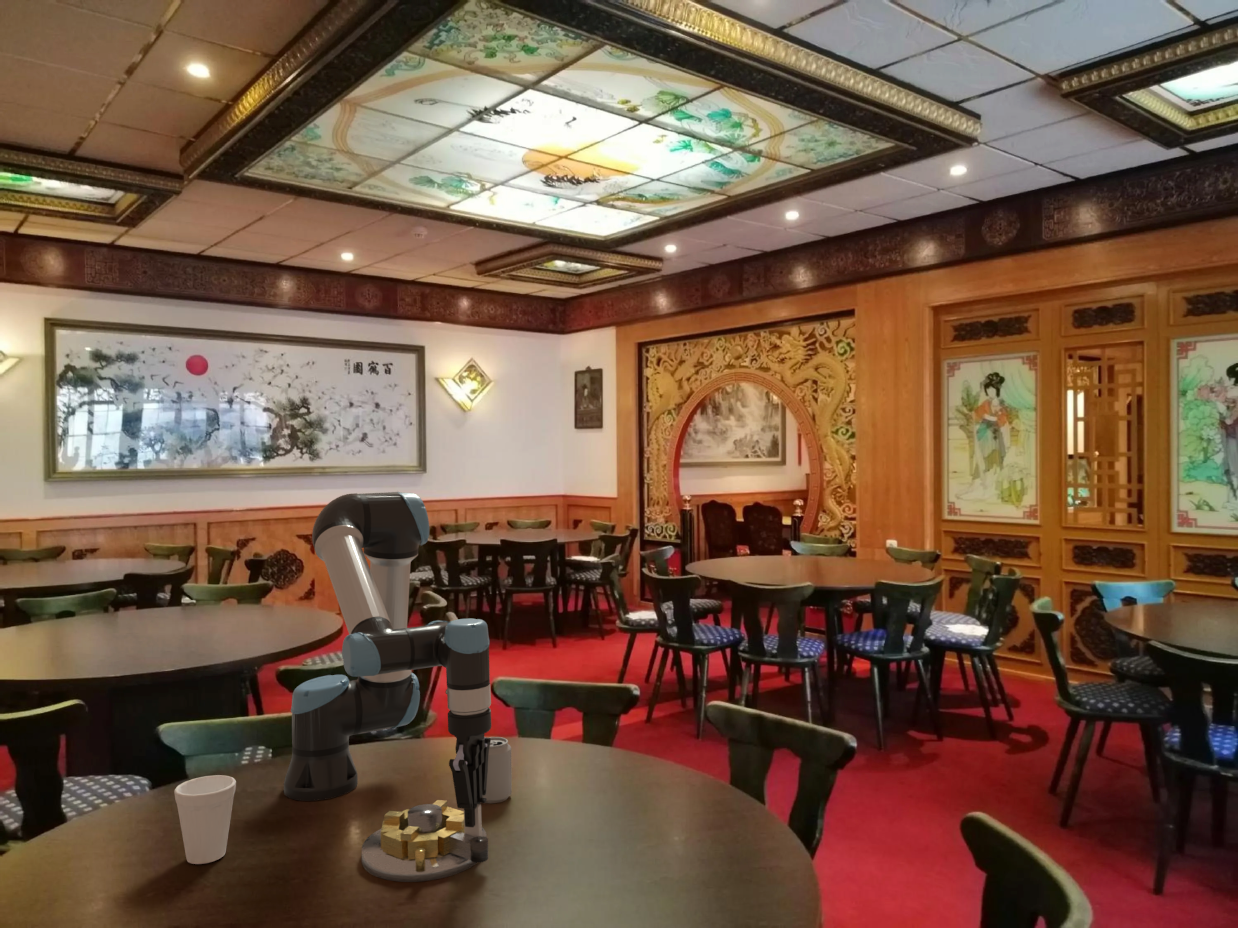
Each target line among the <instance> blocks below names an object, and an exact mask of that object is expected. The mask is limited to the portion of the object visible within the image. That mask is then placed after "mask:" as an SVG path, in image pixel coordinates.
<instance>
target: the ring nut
mask: <svg viewBox="0 0 1238 928" xmlns="http://www.w3.org/2000/svg"><path fill="white" fill-rule="evenodd" d="M432 804H434V805H438V806H440V807H441V808H442V829H441V830H439V831H437V832H435V833H422V834H419V827H413V826H408V811H409V808H407V809H403V810H402V811H398V810H397V811H396V810H388V812H386V813H385V814H384V816H383V821H382V824H381V825H382V826H381V828H382V829H381V828H380V829H381V849H383V852H385V853H388V854H390V855H393V856H396V857H398V858H401V859H403V858H405V857H407V856H408V859H415V851H416V850H417V849H419V848H423V849H425V858H431V857H438V853H439V854H442V855H446V854H448V853H452V854H455V855H458V856H461V857H464V858H466V859H469V860H471V861H472V862H475V863H476V864H481V863H484V862H486V861H488V860H489V838H488V836H487V837H484V836H477V837H474V836H471V835H468V834H465V831H464V810H459V809H458V808H453V807H450V806H448V800H442V799H437V800H436V801H434V802H433V803H432Z"/></svg>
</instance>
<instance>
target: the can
mask: <svg viewBox="0 0 1238 928" xmlns="http://www.w3.org/2000/svg"><path fill="white" fill-rule="evenodd" d="M488 738H490V739H491V742H490V747H489V755H488V772H487V788H486V795H483V798H487V800H486V803H485V804H496V803H497V804H499V803H502V802H504V801H506V800H507V799H508V798H509V797H510V796H511V795H512V793H513V791H512V788H513V787H512V786H513V785H512V781H513V777H512V746H511V745H510V744H509V740H508V739H507V738H505V737H501V736H490V737H488Z"/></svg>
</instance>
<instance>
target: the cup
mask: <svg viewBox="0 0 1238 928" xmlns="http://www.w3.org/2000/svg"><path fill="white" fill-rule="evenodd" d="M236 789H237V781H236V779H235V778H234V777H232V776H229V775H223V774H222V775H220V774H217V775H216V774H215V775H205V776H200V777H196V778H192V779H190V780H186V781H183V782H182V783H180V784H178V785H177V786H176V788H175V789H174V790H173V792H174V799H175V803H176V806H177V811H178V812H177V813H178V818H179V824H180V830H181V834H182V835H181V836H182V840H183V847H184V852H185V857H186V858H185V859H186V861H187V863H189V864H193V865H194V864H195V865H202V864H209V863H212V862H215V861H217V860H219V859H222V857H224V856H225V854H226V851H227V847H228V846H227V845H228V838H229V830H230V824H231V818H232V812H233V811H232V810H233V803H234V798H235V793H236Z"/></svg>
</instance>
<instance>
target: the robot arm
mask: <svg viewBox="0 0 1238 928" xmlns="http://www.w3.org/2000/svg"><path fill="white" fill-rule="evenodd" d="M311 533H312V535H311V536H312V545H313V548H314V549H313V550H314V551H315V555H316V556H317V557H318V558H319V560H321V561H323V562H324V565H325V568H326V571H327V574H328V576H329V579H330V582H331V584H332V589H333V591H334V594H335V596H336V600H337V603H338V605H339V608H340V611H341V614H342V617H343V619H344V620H343V621H344V622H345V623H344V624H345V625H346V629H347V632H348V634H347V635H346V636H345V637H344V639H343V641H342V646H341V647H342V648H341V649H342V650H341V651H342V652H341V656H342V663H343V667H344V670H345V673H347V675H348V676H351V677H355V678H356V677H357V679H353V680H350V679H349V677H348V676H346V674H334V675H331V674H327V675H322V676H318V677H314V678H311V679H309V680H306V681H304V682H302V683H300V684H299V685H298V686H296V688H294V690H293V692H292V699H291V708H290V713H291V739H292V742H291V744H292V745H291V747H292V755H291V759H290V761H289V765H288V769H287V771H286V775H285V778H284V781H283V794H284V796H286V797H287V798H288V799H291V800H296V801H303V802H304V801H305V802H308V801H309V802H311V801H322V800H328V799H334V798H337V797H340V796H342V795H346V794H348V793H349V792H351V791H353V790H354V789H356V788H357V786H358V783H359V781H358V771H357V768H356V765H355V762H354V760H353V756H352V753H351V751H350V743H349V742H350V740H349V739H350V736H353V735H361V734H367V733H371V732H377V731H378V732H379V731H383V730H393V729H396V728H397V727H398V728H399V727H403V726H406V725H407V726H408V724H410V723H411V722H412V721H413V720H415V717H416V715H417V714H418V710H419V706H420V699H421V695H420V694H421V692H420V683H419V678H418V677H417V675H416V674H415V673H413V672H412V670H420V669H426V668H427V669H429V668H434V667H441V666H442V667H444V668H445V675H446V689H445V692H444V693H445V694H446V695H447V697H446V698H447V709H448V712H447V731H448V733H449V734H451V735H452V736H454V737H455V739H456V742H455V754H456V755H455V757H454V759H453V758H450V759H449V761H448V767H449V769H450V771H451V773H452V774H451V775H452V779H453V780H452V781H453V787H454V794H455V800H456V806H457V809H463V812H464V831H465V834H468V835H471V836H474V837H477V836H482V828H483V826H482V824H483V823H482V804H487V803H486V800H487V798H483V795H486V788H487V772H488V755H489V747H490V742H491V739H490V738H489V737H487V736H486V737H485V735H486V734H487V733H488V732H489V731H491V729H492V710H491V708H490V706H491V704H492V696H491V695H492V694H491V692H492V691H491V680H490V679H491V677H490V676H491V675H490V642H491V641H490V637H489V628H488V627H489V626H488V624H487V622H486V621H485V620H483V619H481V618H477V619H476V618H470V617H469V618H460V619H455V620H454V619H453V620H450V621H447V620H433V621H430V622H429V623H427V624H425V625H420V626H411V627H408V619H409V618H408V617H409V599H410V582H411V581H410V580H411V562H412V561H414V559H416V558H417V557H418V556H419V546H423V545H425V544H426V543H428V540H429V538H430V521H429V515H428V511H427V508H426V506H425V504H424V501H423V499H422V498H421V497H420V496H419V495H418V494H416V493H413V492H401V491H390V492H389V491H388V492H370V493H369V492H368V493H357V492H356V493H346V494H342V495H340V496H338V497H336V498H334V499H333V500H331V501H329V502H328V503H327V505H325V506H324V507H323V508H322V509H321V511H320V512H319V514H318V515H317V516H316V519H315V521H314V524H313V527H312V532H311ZM367 559H368V560H369V563H368V561H367ZM369 564H370V566H369Z"/></svg>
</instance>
